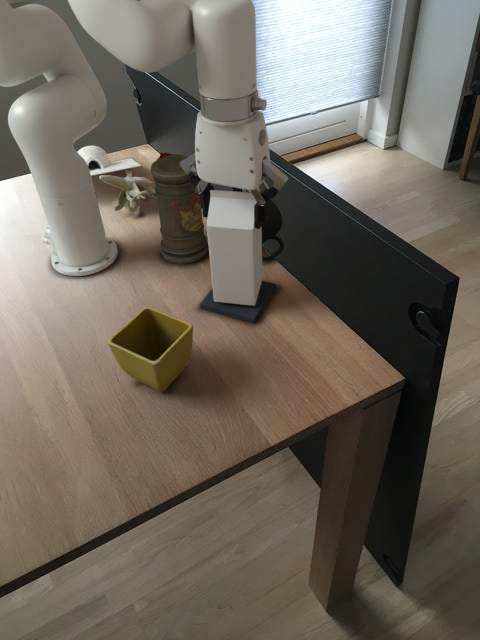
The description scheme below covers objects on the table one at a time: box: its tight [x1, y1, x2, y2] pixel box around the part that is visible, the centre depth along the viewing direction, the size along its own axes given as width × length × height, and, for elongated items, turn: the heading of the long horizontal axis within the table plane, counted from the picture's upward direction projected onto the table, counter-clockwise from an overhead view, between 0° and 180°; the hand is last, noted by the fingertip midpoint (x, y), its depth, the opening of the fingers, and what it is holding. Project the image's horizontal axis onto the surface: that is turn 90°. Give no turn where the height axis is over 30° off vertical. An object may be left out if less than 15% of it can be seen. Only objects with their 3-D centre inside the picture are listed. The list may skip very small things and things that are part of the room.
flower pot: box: [106, 305, 194, 393], centre depth 78 cm, size 9×9×9 cm
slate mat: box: [199, 280, 278, 324], centre depth 93 cm, size 10×10×1 cm
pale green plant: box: [98, 168, 156, 217], centre depth 117 cm, size 9×16×15 cm
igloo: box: [77, 145, 142, 177], centre depth 124 cm, size 20×20×5 cm
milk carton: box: [206, 189, 263, 306], centre depth 86 cm, size 7×7×19 cm
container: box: [150, 154, 209, 265], centre depth 99 cm, size 9×9×18 cm
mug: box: [262, 199, 285, 262], centre depth 102 cm, size 8×12×10 cm
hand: (234, 218), depth 83 cm, fingers closed on milk carton, 8 cm apart
